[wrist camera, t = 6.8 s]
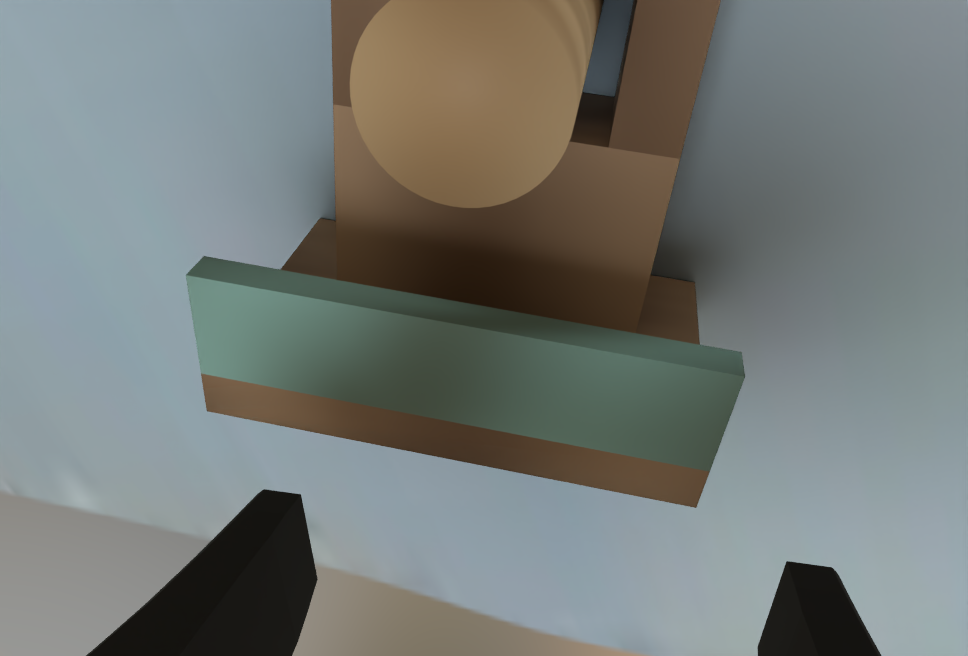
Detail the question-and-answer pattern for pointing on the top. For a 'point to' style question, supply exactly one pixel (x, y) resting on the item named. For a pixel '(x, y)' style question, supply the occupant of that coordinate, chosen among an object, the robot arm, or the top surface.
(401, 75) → the oak peg
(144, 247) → the top surface
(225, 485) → the top surface
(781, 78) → the top surface
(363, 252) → the brown boxy frame piece
